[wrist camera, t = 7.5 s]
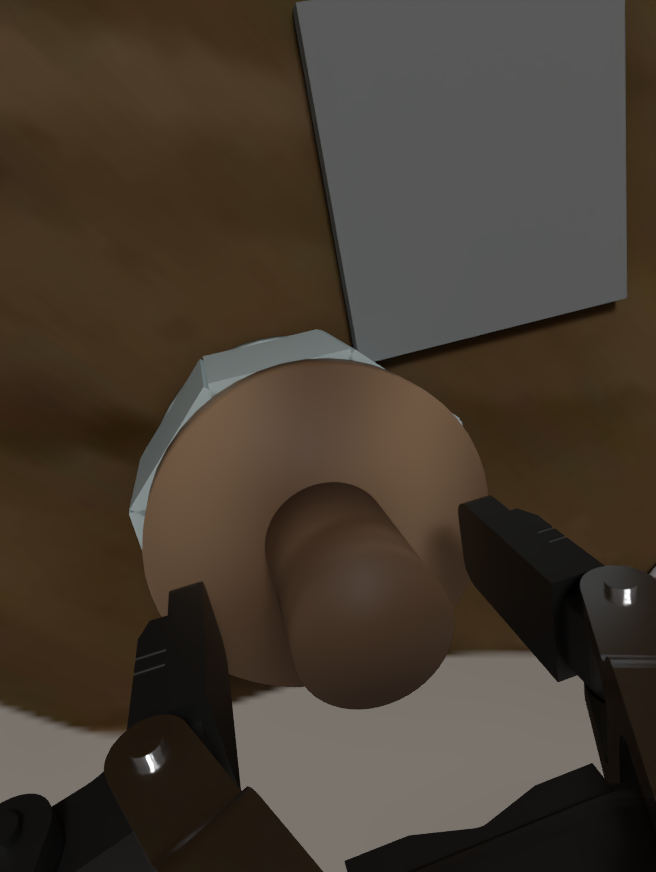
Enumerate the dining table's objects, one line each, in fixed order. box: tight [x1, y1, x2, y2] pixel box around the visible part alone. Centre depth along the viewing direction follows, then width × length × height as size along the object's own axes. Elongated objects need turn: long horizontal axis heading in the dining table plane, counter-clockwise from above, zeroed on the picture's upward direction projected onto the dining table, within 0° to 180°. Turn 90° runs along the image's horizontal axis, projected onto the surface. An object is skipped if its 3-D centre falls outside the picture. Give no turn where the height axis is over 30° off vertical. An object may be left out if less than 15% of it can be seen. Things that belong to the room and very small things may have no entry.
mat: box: [293, 0, 627, 362], centre depth 18 cm, size 10×10×1 cm
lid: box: [142, 358, 488, 709], centre depth 13 cm, size 9×9×5 cm
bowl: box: [129, 329, 462, 549], centre depth 17 cm, size 9×9×4 cm
